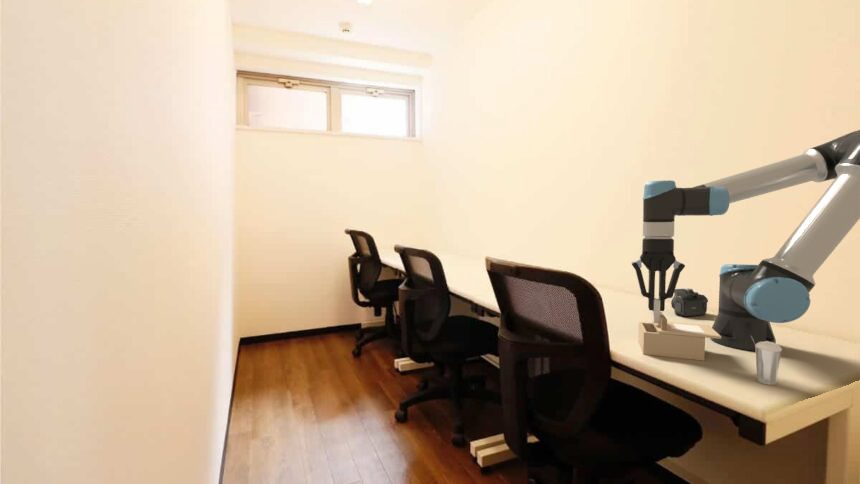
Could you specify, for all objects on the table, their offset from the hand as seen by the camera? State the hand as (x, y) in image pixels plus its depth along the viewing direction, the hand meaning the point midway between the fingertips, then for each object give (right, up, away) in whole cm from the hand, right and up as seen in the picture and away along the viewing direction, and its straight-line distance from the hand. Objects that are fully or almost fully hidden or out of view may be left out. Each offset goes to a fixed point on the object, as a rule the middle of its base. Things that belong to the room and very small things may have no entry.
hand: (655, 322), depth 112 cm
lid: (+6, -2, -2) cm, 7 cm away
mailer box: (+3, -8, -1) cm, 8 cm away
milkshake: (+12, -9, -21) cm, 26 cm away
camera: (+34, -5, +39) cm, 51 cm away
